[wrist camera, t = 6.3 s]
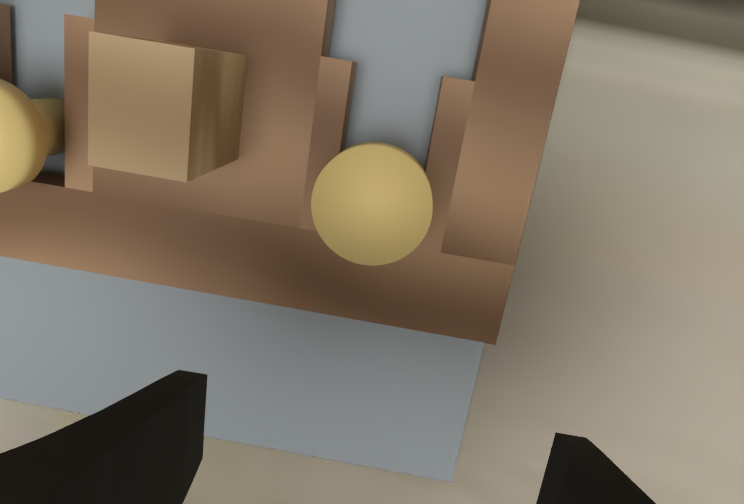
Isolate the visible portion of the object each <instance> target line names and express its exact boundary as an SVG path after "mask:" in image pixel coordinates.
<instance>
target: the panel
mask: <svg viewBox="0 0 744 504" xmlns="http://www.w3.org/2000/svg"><path fill="white" fill-rule="evenodd" d="M579 1H580V0H487V3H486V8H485V13H484V18H483V23H482V28H481V33H480V38H479V43H478V48H477V53H476V58H475V63H474V68H473V73H472V78H471V81H470V80H464V79H458V78H452V77H446V76H442V77H441V82H440V87H439V93H438V98H437V104H436V109H435V114H434V120H433V125H432V131H431V136H430V142H429V147H428V152H427V158H426V163H425V169H424V171H425V173H426V175H427V177H428V179H429V182H430V186H431V191H432V200H433V213H432V219H431V223H430V226H429V229H428V231H427V233H426V235H425V237H424V238H423V240H422V241H421V243H420V244H419V245H418V246H417V247H416V248H415V249H414V250H413V251H412V252H411V253H409V254H408V255H407V256H405V257H403V258H402V259H400V260H397V261H395V262H392V263H389V264H385V265H375V266H369V265H361V264H357V263H354V262H351V261H348V260H346V259H344V258H342V257H341V256H339V255H338V254H336V253H335V252H334V251H332V250H331V249H330V248H329V247H328V246H327V245H326V244H325V242H324V241H323V240H322V238H321V237H320V235H319V233H318V231H317V229H316V227H315V224H314V221H313V217H312V212H311V197H312V192H313V188H314V185H315V182H316V180H317V178H318V176H319V174H320V173H321V171H322V170H323V169H324V167H325V166H326V165H327V164H328V163H329V162H330V161H331V160H332V159H333V158H334V157H336V156H337V155H338V154H339V153H340V152H342V151H343V150H345V146H346V139H347V132H348V125H349V118H350V111H351V104H352V97H353V90H354V83H355V76H356V69H357V62H354V61H348V60H342V59H336V58H330V57H329V49H330V41H331V34H332V26H333V18H334V10H335V2H336V0H95V19H93V18H86V17H80V16H74V15H68V14H64V110H65V175H60V174H54V173H48V172H42V171H40V172H39V174H38V175H37V176H36V177H35V178H34V179H33V180H32V181H31V182H29V183H28V184H26V185H24V186H22V187H19V188H16V189H13V190H9V191H5V192H2V193H0V256H2V257H8V258H13V259H19V260H25V261H30V262H36V263H41V264H47V265H53V266H58V267H64V268H69V269H75V270H81V271H86V272H92V273H97V274H103V275H109V276H114V277H120V278H125V279H131V280H137V281H142V282H148V283H153V284H159V285H165V286H170V287H176V288H181V289H187V290H193V291H198V292H204V293H209V294H215V295H221V296H226V297H232V298H237V299H243V300H248V301H254V302H260V303H265V304H271V305H276V306H282V307H288V308H293V309H299V310H304V311H310V312H316V313H321V314H327V315H332V316H338V317H344V318H349V319H355V320H360V321H366V322H372V323H377V324H383V325H388V326H394V327H400V328H405V329H411V330H416V331H422V332H428V333H433V334H439V335H444V336H450V337H456V338H461V339H467V340H472V341H478V342H484V343H489V344H496V340H497V336H498V332H499V328H500V324H501V320H502V316H503V312H504V308H505V304H506V300H507V295H508V291H509V287H510V283H511V279H512V275H513V271H514V267H515V263H516V259H517V255H518V251H519V246H520V242H521V238H522V234H523V230H524V226H525V222H526V218H527V214H528V210H529V206H530V202H531V197H532V193H533V189H534V185H535V181H536V177H537V173H538V169H539V165H540V161H541V157H542V153H543V148H544V144H545V140H546V136H547V132H548V128H549V124H550V120H551V116H552V112H553V108H554V104H555V99H556V95H557V91H558V87H559V83H560V79H561V75H562V71H563V67H564V63H565V59H566V55H567V50H568V46H569V42H570V38H571V34H572V30H573V26H574V22H575V18H576V14H577V10H578V5H579ZM0 79H2V80H5V81H7V82H9V83H11V84H12V61H11V28H10V5H6V4H0Z"/></svg>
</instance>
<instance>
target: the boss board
mask: <svg viewBox="0 0 744 504" xmlns="http://www.w3.org/2000/svg"><path fill="white" fill-rule="evenodd" d="M486 3H487V0H336V2H335V10H334V18H333V26H332V34H331V41H330V49H329V57H330V58H336V59H342V60H348V61H354V62H357V69H356V76H355V83H354V90H353V97H352V104H351V111H350V118H349V125H348V132H347V139H346V146H345V150H343V151H342V152H340V153H339V154H338V155H337V156H336V157H334V158H333V159H332V160H331V161H330V162H329V163H328V164H327V165H326V166H325V167H324V169H323V170H322V171H321V173H320V174H319V176H318V178H317V180H316V182H315V185H314V188H313V192H312V197H311V212H312V217H313V221H314V224H315V227H316V229H317V231H318V233H319V235H320V237H321V238H322V240H323V241H324V242H325V244H326V245H327V246H328V247H329V248H330V249H331V250H332V251H334V252H335V253H336V254H338V255H339V256H341V257H342V258H344V259H346V260H348V261H351V262H354V263H357V264H361V265H369V266H375V265H385V264H389V263H392V262H395V261H397V260H400V259H402V258H403V257H405V256H407V255H408V254H409V253H411V252H412V251H413V250H414V249H415V248H416V247H417V246H418V245H419V244H420V243H421V241H422V240H423V238H424V237H425V235H426V233H427V231H428V229H429V226H430V223H431V219H432V213H433V200H432V191H431V186H430V182H429V179H428V177H427V175H426V173H425V171H424V169H425V163H426V158H427V152H428V147H429V142H430V136H431V131H432V125H433V120H434V114H435V109H436V104H437V98H438V93H439V87H440V82H441V77H442V76H446V77H452V78H458V79H464V80H470V81H471V78H472V73H473V68H474V63H475V58H476V53H477V48H478V43H479V38H480V33H481V28H482V23H483V18H484V13H485V8H486ZM0 4H6V5H10V28H11V61H12V84H11V83H9V82H7V81H5V80H2V79H0V193H2V192H5V191H9V190H13V189H16V188H19V187H22V186H24V185H26V184H28V183H29V182H31V181H32V180H33V179H34V178H35V177H36V176H37V175H38V174H39V172H40V171H42V172H48V173H54V174H60V175H65V110H64V14H68V15H74V16H80V17H86V18H93V19H95V0H0ZM484 344H485V343H484V342H478V341H472V340H467V339H461V338H456V337H450V336H444V335H439V334H433V333H428V332H422V331H416V330H411V329H405V328H400V327H394V326H388V325H383V324H377V323H372V322H366V321H360V320H355V319H349V318H344V317H338V316H332V315H327V314H321V313H316V312H310V311H304V310H299V309H293V308H288V307H282V306H276V305H271V304H265V303H260V302H254V301H248V300H243V299H237V298H232V297H226V296H221V295H215V294H209V293H204V292H198V291H193V290H187V289H181V288H176V287H170V286H165V285H159V284H153V283H148V282H142V281H137V280H131V279H125V278H120V277H114V276H109V275H103V274H97V273H92V272H86V271H81V270H75V269H69V268H64V267H58V266H53V265H47V264H41V263H36V262H30V261H25V260H19V259H13V258H8V257H2V256H0V398H2V399H7V400H12V401H18V402H23V403H29V404H34V405H39V406H45V407H50V408H55V409H61V410H66V411H71V412H77V413H82V414H87V415H92V414H94V413H96V412H98V411H100V410H102V409H104V408H106V407H108V406H110V405H112V404H114V403H116V402H118V401H120V400H121V399H123V398H125V397H127V396H129V395H131V394H133V393H135V392H137V391H138V390H140V389H142V388H144V387H146V386H148V385H150V384H151V383H153V382H155V381H157V380H159V379H161V378H163V377H165V376H167V375H169V374H171V373H173V372H175V371H177V370H184V371H190V372H196V373H202V374H208V375H207V392H206V408H205V424H204V436H205V437H211V438H216V439H221V440H227V441H232V442H237V443H243V444H248V445H253V446H259V447H264V448H269V449H275V450H280V451H286V452H291V453H296V454H302V455H307V456H312V457H318V458H323V459H328V460H334V461H339V462H344V463H350V464H355V465H360V466H366V467H371V468H377V469H382V470H387V471H393V472H398V473H403V474H409V475H414V476H419V477H425V478H430V479H435V480H441V481H446V482H452V478H453V474H454V470H455V465H456V461H457V457H458V453H459V449H460V444H461V440H462V436H463V432H464V428H465V423H466V419H467V415H468V411H469V407H470V402H471V398H472V394H473V390H474V386H475V382H476V377H477V373H478V369H479V365H480V361H481V356H482V352H483V348H484Z"/></svg>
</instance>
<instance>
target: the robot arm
mask: <svg viewBox="0 0 744 504" xmlns="http://www.w3.org/2000/svg"><path fill="white" fill-rule="evenodd" d="M207 375H208V374H202V373H196V372H190V371H184V370H177V371H175V372H173V373H171V374H169V375H167V376H165V377H163V378H161V379H159V380H157V381H155V382H153V383H151V384H150V385H148V386H146V387H144V388H142V389H140V390H138V391H137V392H135V393H133V394H131V395H129V396H127V397H125V398H123V399H121V400H120V401H118V402H116V403H114V404H112V405H110V406H108V407H106V408H104V409H102V410H100V411H98V412H96V413H94V414H92V415H90V416H88V417H86V418H83V419H81V420H79V421H77V422H75V423H73V424H71V425H69V426H66V427H64V428H62V429H60V430H58V431H56V432H54V433H51V434H49V435H47V436H44V437H42V438H40V439H37V440H35V441H32V442H30V443H27V444H25V445H22V446H19V447H17V448H14V449H11V450H9V451H6V452H3V453H1V454H0V504H182V503H183V501H184V499H185V497H186V495H187V493H188V490H189V488H190V486H191V484H192V482H193V479H194V477H195V474H196V472H197V470H198V467H199V465H200V463H201V460H202V457H203V441H204V424H205V408H206V392H207ZM536 504H656V503H655V502H654V501H653V500H651V499H650V498H649V497H648V496H647V495H646V494H645V493H644V492H643V491H642V490H641V489H640V488H639V487H638V486H637V485H636V484H635V483H634V482H633V481H632V480H631V479H630V478H629V477H628V476H626V475H625V474H624V473H623V472H622V471H621V470H620V469H619V468H618V467H617V466H616V465H615V464H614V463H613V462H612V461H611V460H610V459H609V458H608V457H607V456H606V455H605V454H604V453H603V452H602V451H601V450H600V449H598V448H597V447H596V446H595V445H594V444H593V443H592V442H591V441H589V440H588V439H587V438H584V437H578V436H572V435H566V434H561V433H556V434H555V437H554V441H553V445H552V448H551V452H550V456H549V459H548V463H547V467H546V470H545V474H544V478H543V481H542V485H541V489H540V492H539V496H538V500H537V503H536Z"/></svg>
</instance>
